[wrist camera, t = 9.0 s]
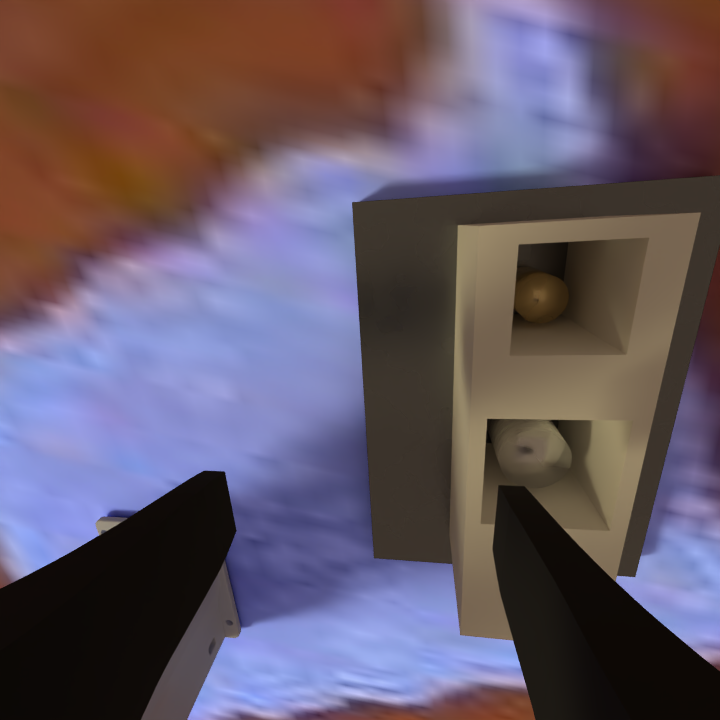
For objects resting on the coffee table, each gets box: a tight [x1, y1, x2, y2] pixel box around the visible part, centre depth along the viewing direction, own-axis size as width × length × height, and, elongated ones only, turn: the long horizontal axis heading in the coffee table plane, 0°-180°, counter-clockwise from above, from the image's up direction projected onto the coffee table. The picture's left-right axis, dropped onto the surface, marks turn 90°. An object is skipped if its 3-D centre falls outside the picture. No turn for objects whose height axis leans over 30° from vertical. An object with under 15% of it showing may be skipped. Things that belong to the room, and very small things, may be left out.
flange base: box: [352, 175, 720, 577], centre depth 15 cm, size 18×13×4 cm
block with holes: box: [449, 213, 701, 640], centre depth 14 cm, size 15×5×5 cm, turn 4°
